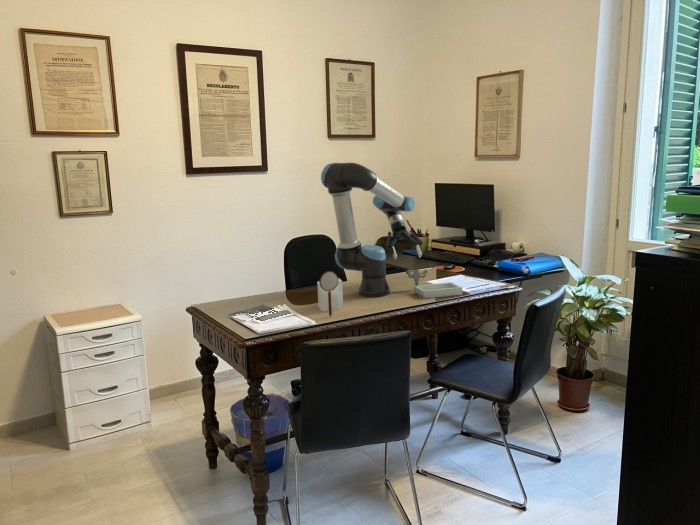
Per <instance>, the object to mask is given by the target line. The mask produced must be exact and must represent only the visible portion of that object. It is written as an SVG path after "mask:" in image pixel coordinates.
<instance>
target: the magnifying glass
mask: <svg viewBox="0 0 700 525" xmlns="http://www.w3.org/2000/svg"><path fill="white" fill-rule="evenodd" d="M338 278H339V276H338V274H336V273H335V272H334V271H332V270H327V271H325V272H324V273H322V274H321V276H320V277H319V280H318V282H319V283H320V287H321V288H322V289H323V290H325V291H329V292H328V303H329V311H328V315H329V318H331V317H332V315H333V313H332V312H333V311H332V308H331V292H330V291H332V290H334V289H335V288H336V286H337V285H338Z"/></svg>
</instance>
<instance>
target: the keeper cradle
mask: <svg viewBox="0 0 700 525" xmlns="http://www.w3.org/2000/svg"><path fill="white" fill-rule="evenodd" d="M413 294H415V295H416V294H417V295H416V296H418V295H419V296H418V297H420V296H421V297H422V298H421V297H420V298H421V299H423V298H426V299H432V298H433V299H435V298H442V297H450V296H451V297H453V296H460V295H463V286H460V285H458V284H457V283H456V284H455V283H454V282H448V281H447V282H443V283H442V282H441V283H439V282H438V283H430V284H421V285H420V284H418V286H415V285H413ZM434 297H435V298H434Z"/></svg>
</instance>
